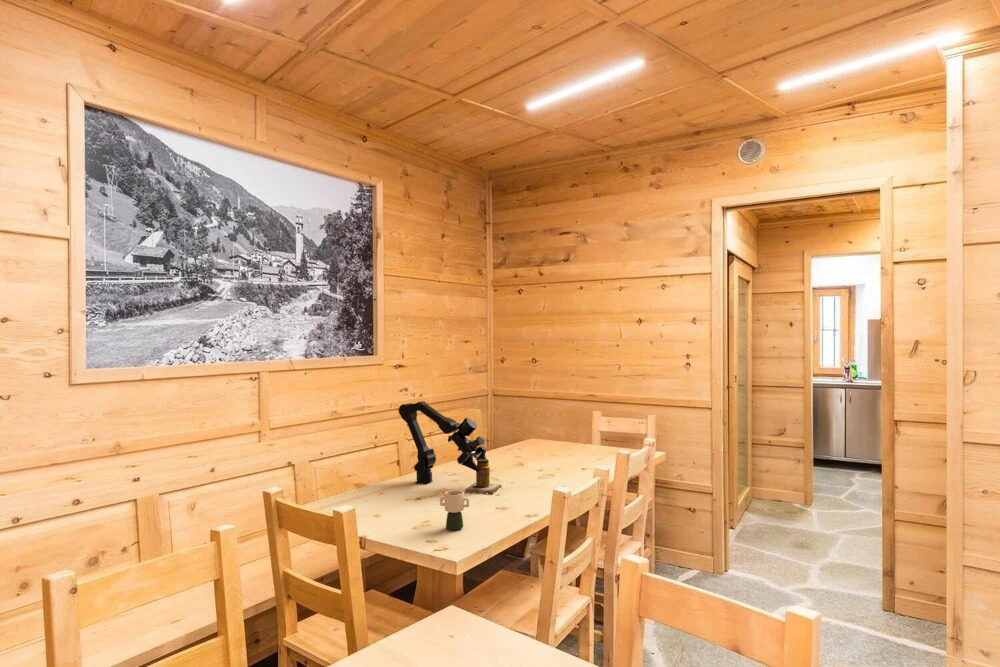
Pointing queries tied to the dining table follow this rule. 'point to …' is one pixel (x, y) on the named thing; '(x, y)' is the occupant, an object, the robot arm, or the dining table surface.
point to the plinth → (488, 490)
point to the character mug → (454, 508)
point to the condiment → (482, 474)
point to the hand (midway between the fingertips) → (483, 469)
